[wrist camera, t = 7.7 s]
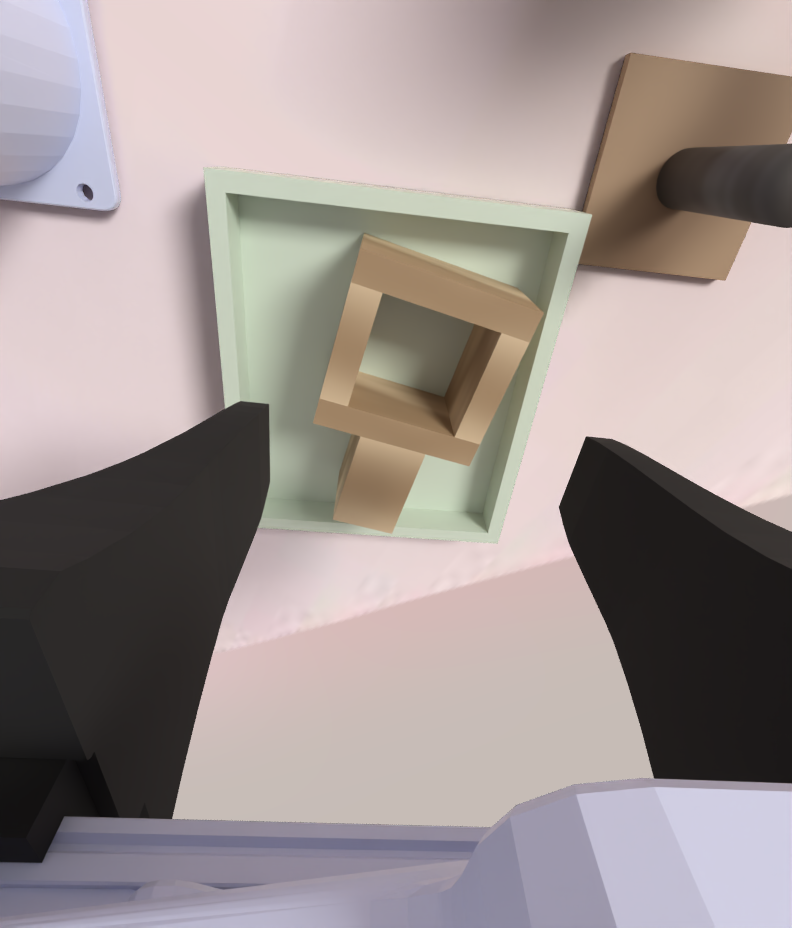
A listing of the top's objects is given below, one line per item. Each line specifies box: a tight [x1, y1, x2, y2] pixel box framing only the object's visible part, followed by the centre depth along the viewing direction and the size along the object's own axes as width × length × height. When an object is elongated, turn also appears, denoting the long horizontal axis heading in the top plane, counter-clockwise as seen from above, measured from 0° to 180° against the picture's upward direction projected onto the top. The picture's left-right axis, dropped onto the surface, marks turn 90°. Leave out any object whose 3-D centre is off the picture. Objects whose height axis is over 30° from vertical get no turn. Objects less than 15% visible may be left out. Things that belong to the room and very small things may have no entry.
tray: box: [203, 167, 592, 544], centre depth 20 cm, size 12×14×2 cm
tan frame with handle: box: [313, 233, 544, 534], centre depth 19 cm, size 10×6×4 cm, turn 162°
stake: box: [578, 53, 792, 280], centre depth 14 cm, size 6×6×6 cm
